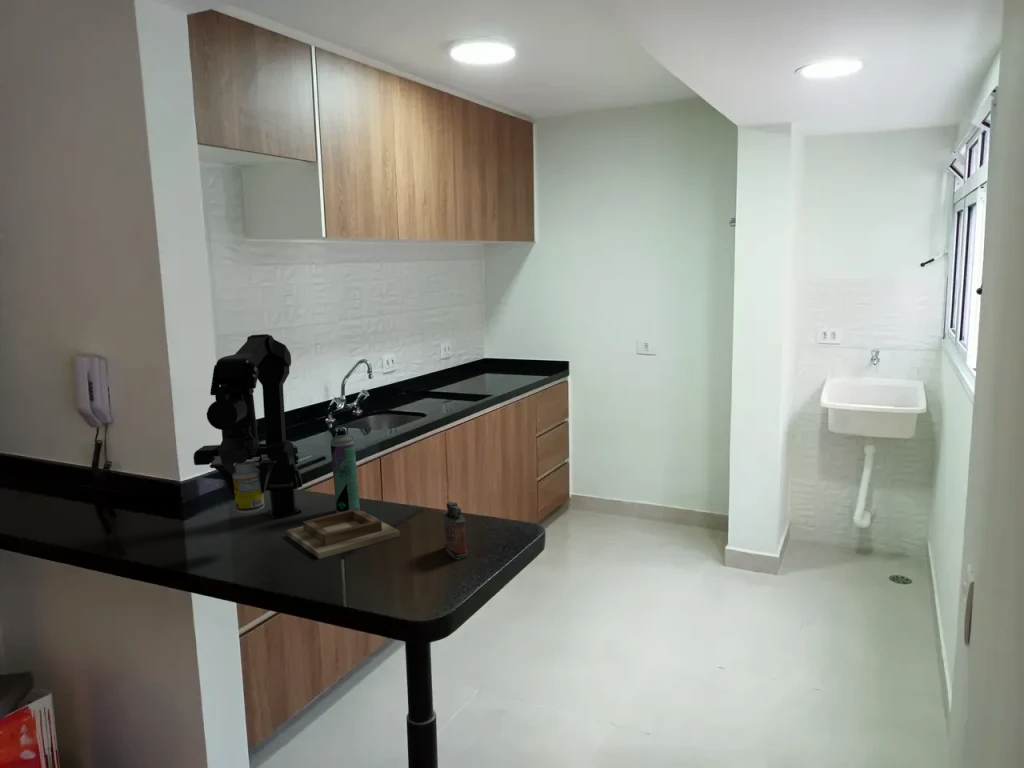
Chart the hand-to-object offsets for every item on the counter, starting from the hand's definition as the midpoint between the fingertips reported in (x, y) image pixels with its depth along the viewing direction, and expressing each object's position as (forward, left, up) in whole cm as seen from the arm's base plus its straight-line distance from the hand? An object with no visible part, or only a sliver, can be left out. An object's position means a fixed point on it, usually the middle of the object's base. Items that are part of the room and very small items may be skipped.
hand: (248, 493), depth 154 cm
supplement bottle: (0, 0, -4) cm, 4 cm away
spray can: (-9, +25, -12) cm, 29 cm away
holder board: (+6, +17, -12) cm, 22 cm away
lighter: (+31, +30, -12) cm, 45 cm away
